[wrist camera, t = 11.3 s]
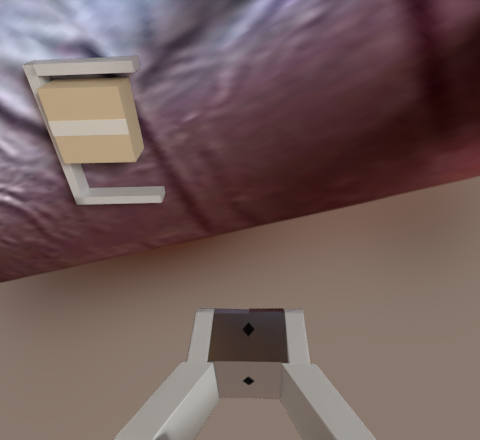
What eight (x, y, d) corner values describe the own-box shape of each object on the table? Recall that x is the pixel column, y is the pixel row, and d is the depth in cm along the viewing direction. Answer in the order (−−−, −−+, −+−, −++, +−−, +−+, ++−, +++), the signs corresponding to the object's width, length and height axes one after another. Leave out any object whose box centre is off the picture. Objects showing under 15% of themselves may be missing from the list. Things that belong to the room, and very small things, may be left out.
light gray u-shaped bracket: (137, 56, 38) (131, 60, 36) (165, 193, 49) (161, 202, 47) (33, 60, 39) (22, 64, 37) (83, 195, 50) (76, 204, 48)
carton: (129, 76, 40) (117, 86, 36) (145, 147, 45) (135, 162, 41) (55, 78, 40) (35, 89, 36) (78, 148, 45) (63, 163, 42)
